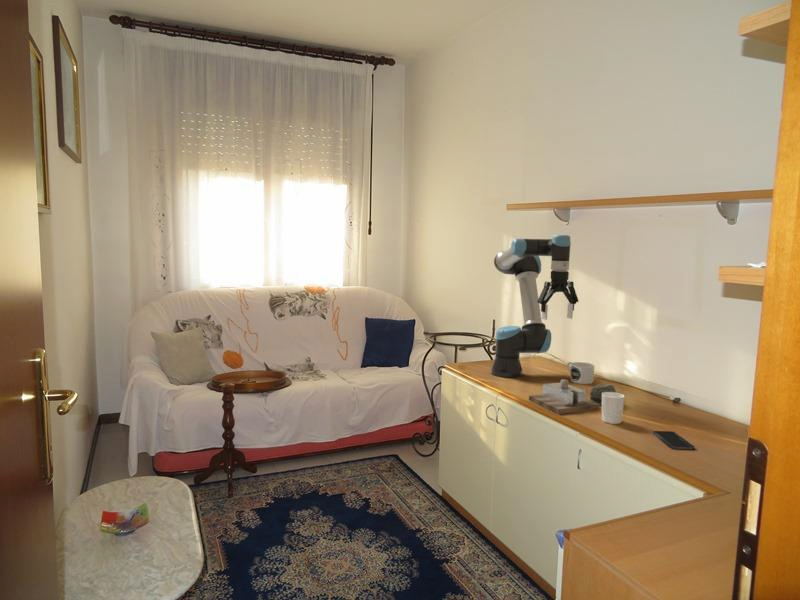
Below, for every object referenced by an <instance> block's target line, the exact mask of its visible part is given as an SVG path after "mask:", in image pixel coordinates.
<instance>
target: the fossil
mask: <svg viewBox="0 0 800 600" xmlns="http://www.w3.org/2000/svg"><path fill="white" fill-rule="evenodd" d="M604 392H615V393H617V391H616V388H615V386H614V384H610V383H609V384H608V383H602V382H601V383H598V384H597V385H595V386H593V387H592V388H591V390H590V391H589V395H590V399H589V400H591V401H593V402H596V403H598V404H600V406H601V407H602V393H604ZM600 406H599V407H600Z"/></svg>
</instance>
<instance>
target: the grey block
mask: <svg viewBox="0 0 800 600" xmlns="http://www.w3.org/2000/svg"><path fill="white" fill-rule="evenodd" d="M560 384H561V382H551V383H544V384H542V394H543V396H544V397H546V398H548V399H550V400H552V401H555V402H557V403H559V404H561V405H564V406H568V405H573V403H575V404H585V398H586V396H587V395H586V394H587V391H586V390H584V389H582V388H578V387H575V386H574V385H571V384H569V383H568V389H561V388H560ZM573 393H574V398H573Z"/></svg>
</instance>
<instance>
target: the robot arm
mask: <svg viewBox="0 0 800 600" xmlns="http://www.w3.org/2000/svg"><path fill="white" fill-rule="evenodd" d="M571 244H572V243H571V236H570V235H568V234H563V235H562V234H554V235H553V236H552V238H548V239H547V238H545V239H544V238H522V237H521V238H514V239H513V240H512V241H511V243H510V247H509V248H508V249H506V250H502V251H500V252H498V253H497V254H496V255H495V257H494V259H493V265H494V267H495V268H496V270H497V271H499V272H500V273H501V274H503V275H504V274H505V275H514V277H515V280H516V281H518V283H519V284H518V286H519V293H520V301H521V308H522V309H521V310H522V316H523V317H522V318H523V325H522V326H519V325H507V326H502V327H499V328H498V329H497V330H496V334H495V357H494V360H493V363H492V366H491V369H490V372H491V373H490V374H492V375H493V376H496V377H502V378H519V377H522V376H523V367H522V364H521V361H520V355H521V354H542V353H543V354H545V353H547V352H548V351H549V349H550V348H551V344H552V332H551V330H550V329H548V328H547V327H546V324H545V323H544V322H542V320H545V321H547V320H548V306H549V304H548V303H549V301H550V300H551V298H552V297H553V296H554V295H555V294H556V293H563V295H564V296H565V298H566V299H567V301H568V303H567V312H566V313H567V314H566V318H567V319H571V320H573V316H574V315H573V313H574V311H575V305H576V304H577V303H579V298H578V294H577V291H576V289H575V287H574V285H575V284H574V281H570V280H569V275H570V273H569V270H570V255H571V254H570V253H571ZM540 257H551V262H550V270H551V271H550V281H544V284H543V288H542V291H541V292H540V295H539V293H538V285H537V279H538V278H539V275H540V274H541V272H542V262H541V258H540ZM568 280H569V281H568ZM540 305H541V306H540Z"/></svg>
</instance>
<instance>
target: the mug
mask: <svg viewBox="0 0 800 600" xmlns="http://www.w3.org/2000/svg"><path fill="white" fill-rule="evenodd" d="M566 367H567V370H568V372H569V373H570V382H573V383H575V384H579V385H591V384H592V383H594V372H595V365H594V364H592V363H589V362H582V361H581V362H580V361H577V362H576V361H574V362H572V361H569V362H568V363H567V365H566Z"/></svg>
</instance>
